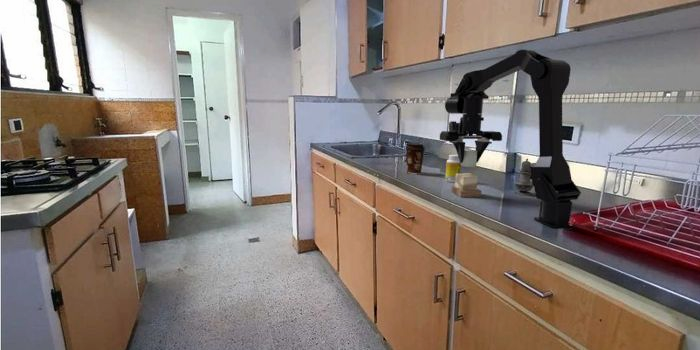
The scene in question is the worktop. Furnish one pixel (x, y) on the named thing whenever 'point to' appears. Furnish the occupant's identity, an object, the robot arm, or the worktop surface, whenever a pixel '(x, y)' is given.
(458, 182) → the cube
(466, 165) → the pale green rounded block
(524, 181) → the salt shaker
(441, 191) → the worktop surface
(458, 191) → the slab
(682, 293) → the worktop surface
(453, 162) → the supplement bottle
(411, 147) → the coffee cup
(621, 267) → the worktop surface
